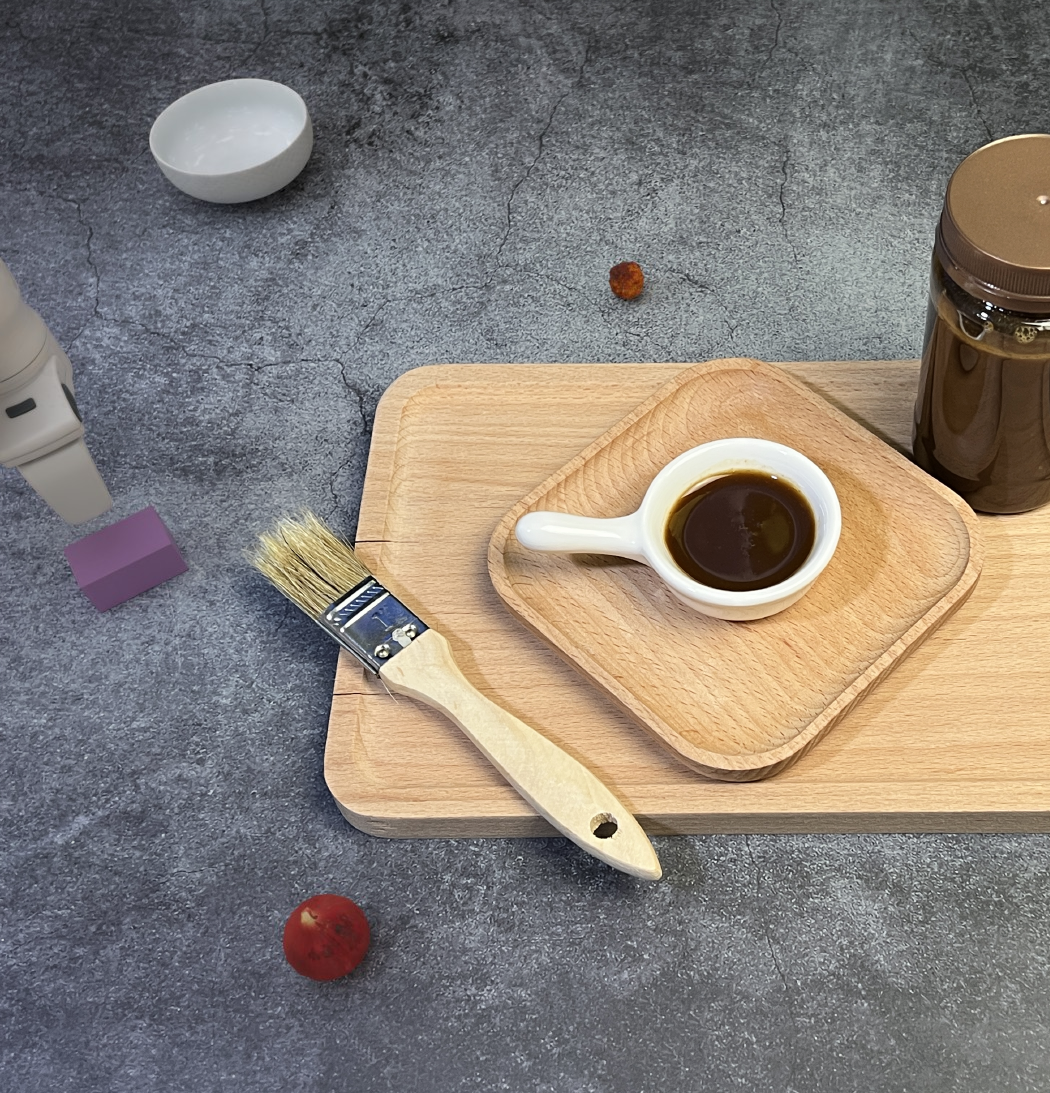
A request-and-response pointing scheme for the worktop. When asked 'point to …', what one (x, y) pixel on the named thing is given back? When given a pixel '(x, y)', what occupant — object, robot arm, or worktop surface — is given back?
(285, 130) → the cereal bowl
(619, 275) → the meatball
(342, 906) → the red rounded lump
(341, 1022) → the worktop surface
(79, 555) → the block
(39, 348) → the robot arm
